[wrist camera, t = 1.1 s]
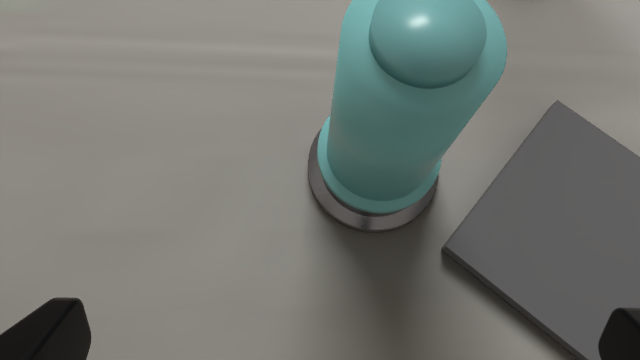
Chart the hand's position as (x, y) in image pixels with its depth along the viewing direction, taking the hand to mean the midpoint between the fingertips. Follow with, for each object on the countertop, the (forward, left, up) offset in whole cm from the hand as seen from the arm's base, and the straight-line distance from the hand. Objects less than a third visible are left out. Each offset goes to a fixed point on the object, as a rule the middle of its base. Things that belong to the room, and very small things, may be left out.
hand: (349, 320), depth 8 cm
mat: (-7, -12, -14) cm, 20 cm away
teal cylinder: (+3, -8, -12) cm, 15 cm away
